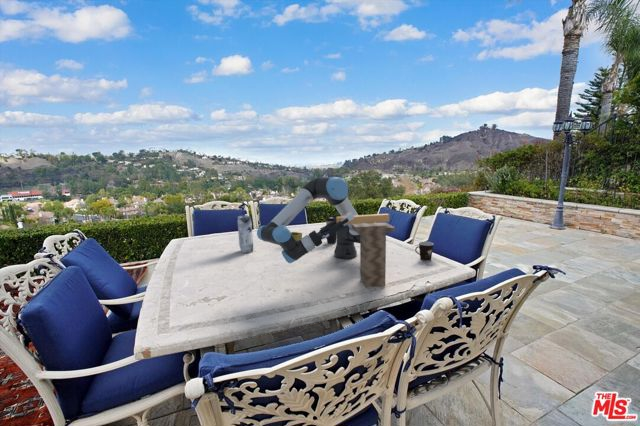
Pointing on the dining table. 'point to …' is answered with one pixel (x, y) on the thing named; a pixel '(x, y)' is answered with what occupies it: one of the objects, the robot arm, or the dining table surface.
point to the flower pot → (297, 235)
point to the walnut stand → (373, 252)
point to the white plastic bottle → (245, 233)
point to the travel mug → (333, 237)
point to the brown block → (366, 218)
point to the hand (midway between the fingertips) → (352, 214)
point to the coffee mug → (425, 250)
